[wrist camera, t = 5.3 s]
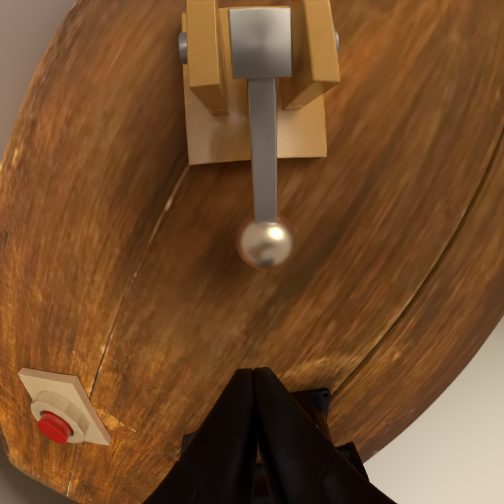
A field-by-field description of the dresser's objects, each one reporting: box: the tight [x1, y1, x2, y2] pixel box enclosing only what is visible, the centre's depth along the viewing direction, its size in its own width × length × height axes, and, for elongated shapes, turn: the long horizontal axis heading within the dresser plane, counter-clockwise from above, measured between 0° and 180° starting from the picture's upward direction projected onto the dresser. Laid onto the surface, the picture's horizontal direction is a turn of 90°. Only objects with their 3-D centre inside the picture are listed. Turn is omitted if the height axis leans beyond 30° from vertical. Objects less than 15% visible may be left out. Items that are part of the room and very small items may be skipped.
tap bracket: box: [178, 0, 340, 165], centre depth 12 cm, size 10×8×9 cm
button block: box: [18, 368, 112, 446], centre depth 23 cm, size 10×8×3 cm
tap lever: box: [228, 7, 296, 270], centre depth 13 cm, size 13×3×3 cm, turn 5°
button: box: [37, 411, 72, 444], centre depth 21 cm, size 4×4×2 cm
